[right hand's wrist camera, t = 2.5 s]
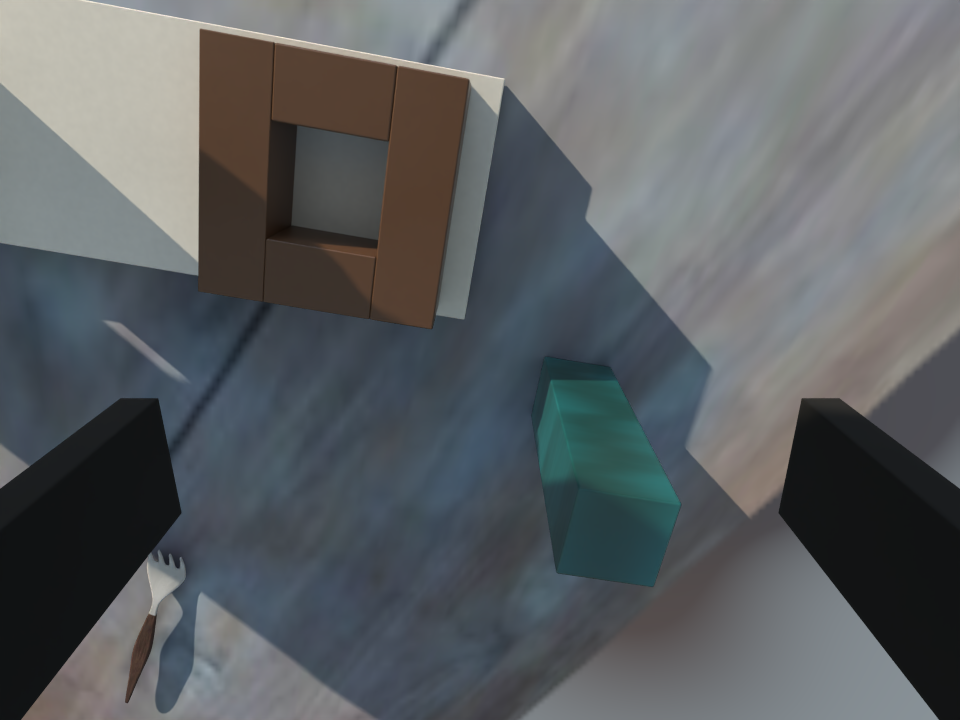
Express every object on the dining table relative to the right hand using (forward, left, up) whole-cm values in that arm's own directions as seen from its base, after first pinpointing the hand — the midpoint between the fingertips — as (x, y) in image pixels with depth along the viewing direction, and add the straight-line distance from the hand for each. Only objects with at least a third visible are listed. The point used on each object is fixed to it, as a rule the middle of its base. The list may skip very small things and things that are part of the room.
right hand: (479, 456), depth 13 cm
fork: (+18, +29, -22) cm, 41 cm away
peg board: (+15, -3, -22) cm, 27 cm away
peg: (-7, +7, -22) cm, 25 cm away
